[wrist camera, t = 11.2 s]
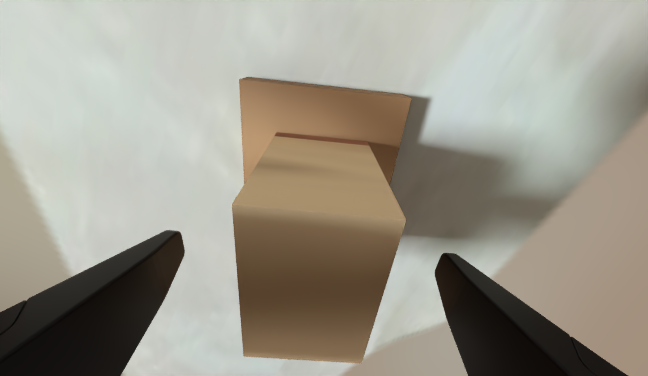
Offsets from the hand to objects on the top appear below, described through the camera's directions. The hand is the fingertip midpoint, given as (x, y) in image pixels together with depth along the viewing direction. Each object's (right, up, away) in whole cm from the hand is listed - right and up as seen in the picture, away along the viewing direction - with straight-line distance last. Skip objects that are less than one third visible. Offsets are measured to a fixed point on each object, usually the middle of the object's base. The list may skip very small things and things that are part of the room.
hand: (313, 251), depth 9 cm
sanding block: (0, +2, +4) cm, 4 cm away
